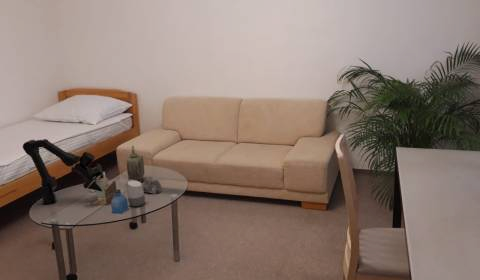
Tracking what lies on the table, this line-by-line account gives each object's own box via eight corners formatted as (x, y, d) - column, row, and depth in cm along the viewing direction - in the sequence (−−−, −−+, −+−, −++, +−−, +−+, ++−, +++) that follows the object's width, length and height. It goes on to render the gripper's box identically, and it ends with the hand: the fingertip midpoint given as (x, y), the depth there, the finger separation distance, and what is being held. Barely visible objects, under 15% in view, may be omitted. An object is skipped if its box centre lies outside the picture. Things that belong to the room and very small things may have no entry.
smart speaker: (141, 208, 241) (138, 184, 238) (126, 207, 243) (123, 184, 239) (147, 201, 250) (145, 178, 247) (133, 201, 252) (130, 178, 248)
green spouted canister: (132, 179, 292) (127, 144, 286) (145, 178, 293) (141, 143, 287) (129, 186, 278) (124, 149, 272) (143, 185, 279) (138, 148, 273)
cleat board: (92, 205, 249) (89, 189, 247) (101, 196, 263) (99, 181, 260) (109, 204, 248) (106, 188, 246) (117, 196, 262) (115, 180, 260)
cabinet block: (97, 201, 253) (94, 181, 250) (101, 197, 258) (98, 178, 255) (106, 201, 252) (103, 181, 249) (110, 197, 258) (107, 177, 255)
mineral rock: (139, 191, 268) (137, 176, 266) (155, 187, 274) (153, 172, 272) (147, 196, 258) (145, 180, 256) (163, 192, 264) (161, 176, 261)
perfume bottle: (128, 209, 240) (125, 189, 238) (120, 213, 235) (118, 192, 232) (119, 207, 243) (116, 188, 240) (112, 212, 238) (109, 191, 235)
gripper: (85, 166, 241) (107, 184, 243) (98, 157, 259) (118, 173, 261) (74, 180, 243) (95, 197, 245) (87, 169, 262) (107, 186, 263)
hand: (104, 188), depth 254 cm, fingers open, 9 cm apart
